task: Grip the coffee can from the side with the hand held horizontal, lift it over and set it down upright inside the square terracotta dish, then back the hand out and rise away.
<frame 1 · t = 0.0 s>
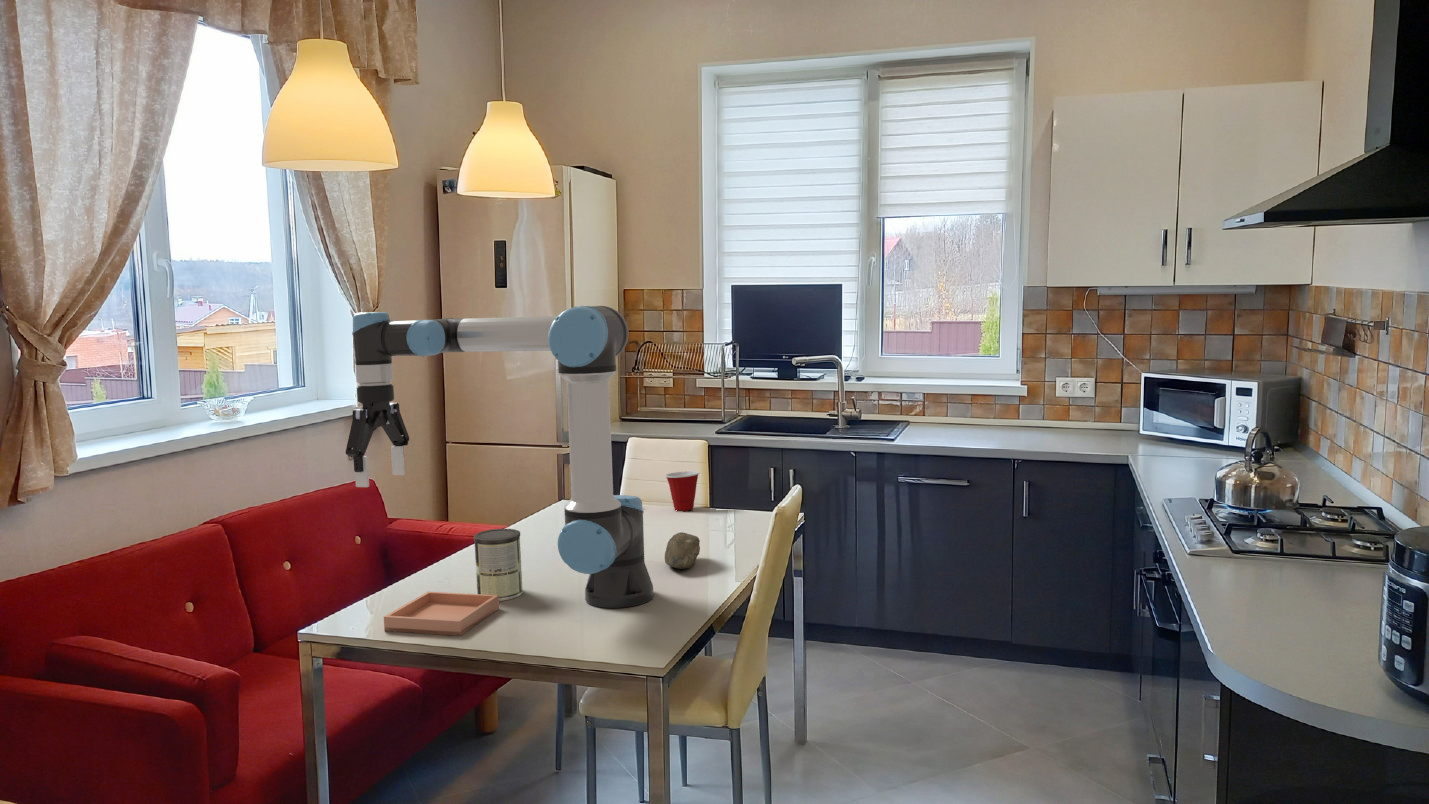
hand: (381, 480, 207), 28 cm above the table, tool pointing down, fingers open, 13 cm apart
terracotta dish: (443, 619, 199), on the table
plastic cup: (683, 510, 298), on the table
stone: (682, 566, 235), on the table
vase: (605, 510, 301), on the table
coffee can: (500, 595, 216), on the table
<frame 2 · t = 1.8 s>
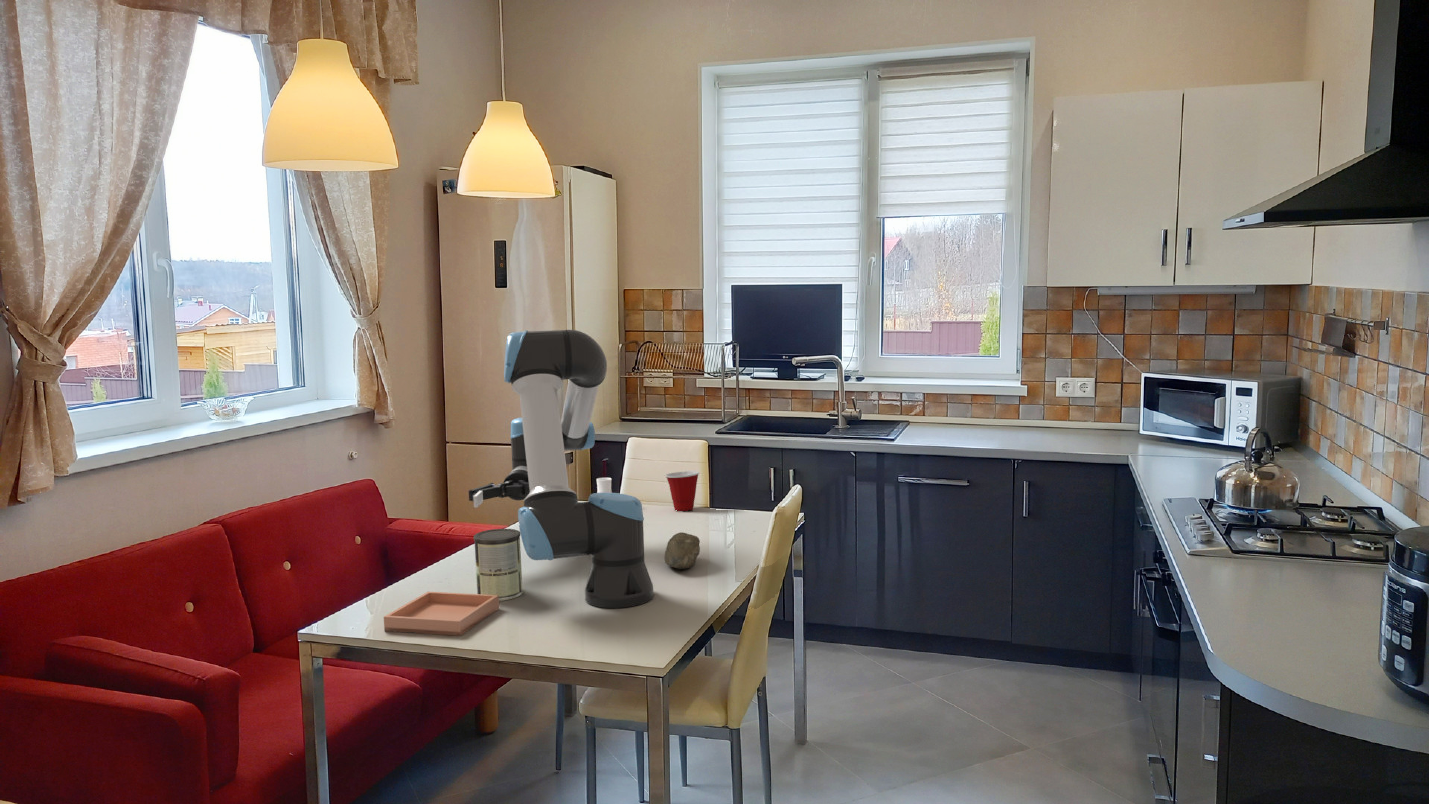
hand: (504, 501, 223), 20 cm above the table, tool horizontal, fingers open, 13 cm apart
nothing on the table moved.
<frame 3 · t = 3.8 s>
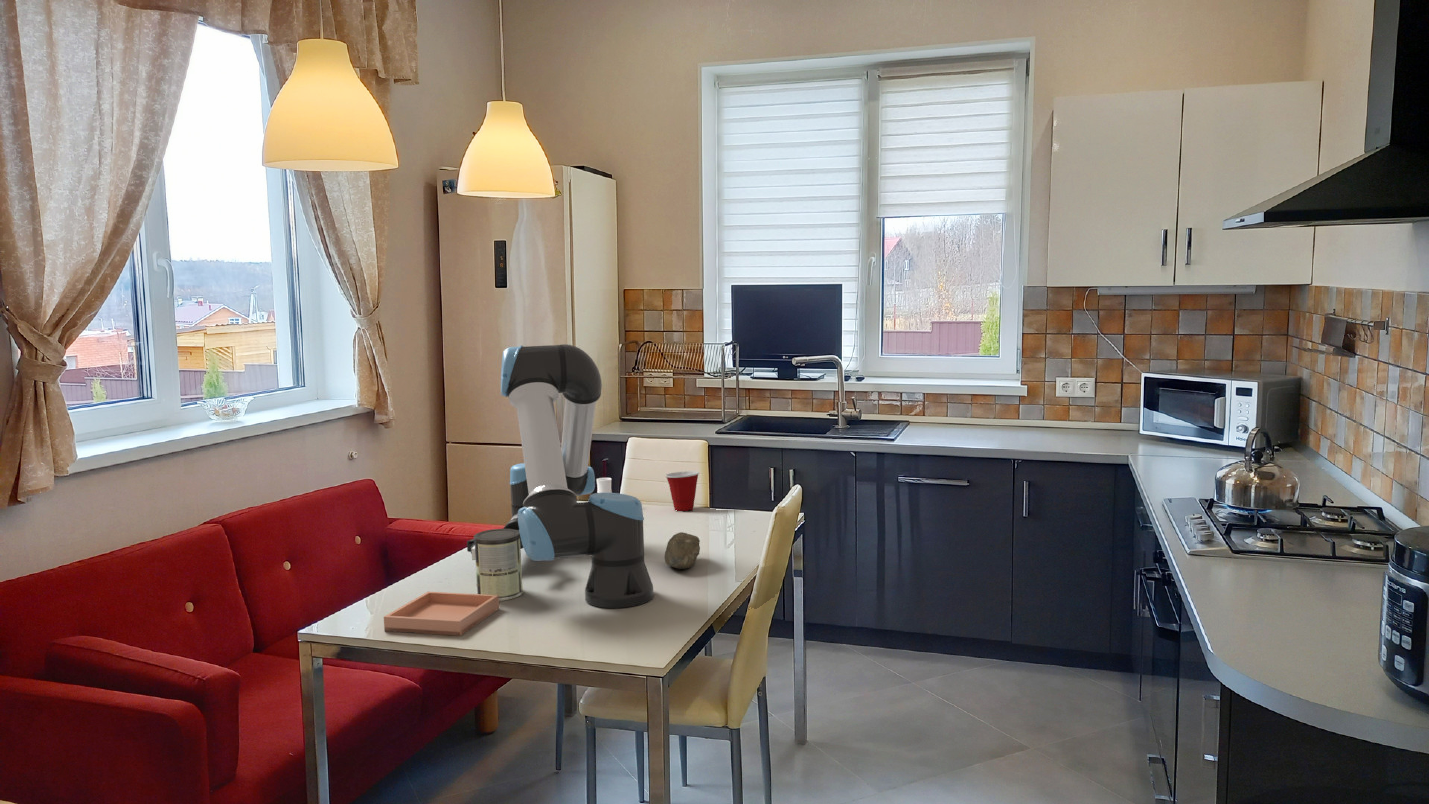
hand: (502, 553, 221), 8 cm above the table, tool horizontal, fingers open, 13 cm apart
nothing on the table moved.
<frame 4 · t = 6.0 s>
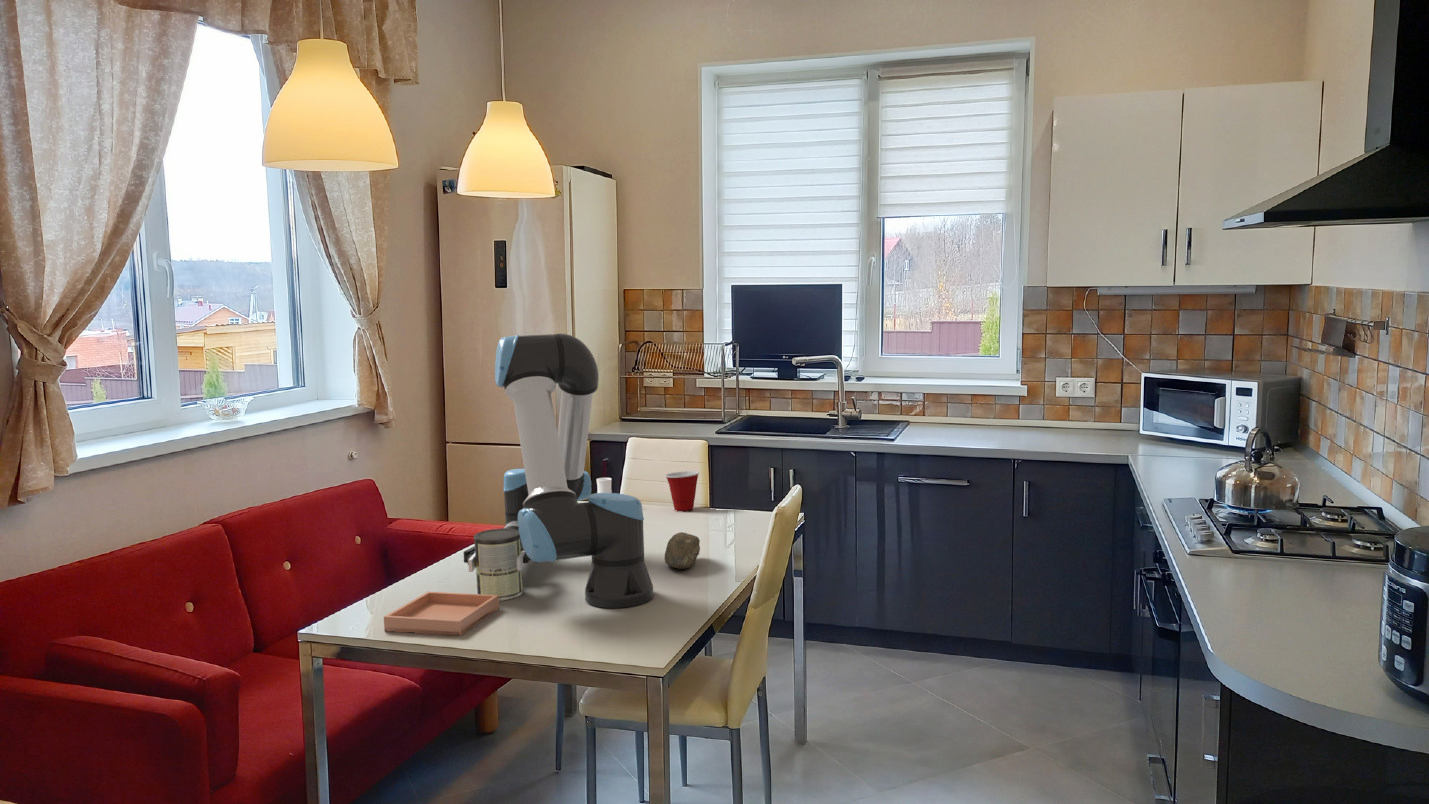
hand: (494, 565, 210), 8 cm above the table, tool horizontal, fingers closed on coffee can, 10 cm apart
coffee can: (500, 595, 216), on the table, touching gripper
everything else where it was.
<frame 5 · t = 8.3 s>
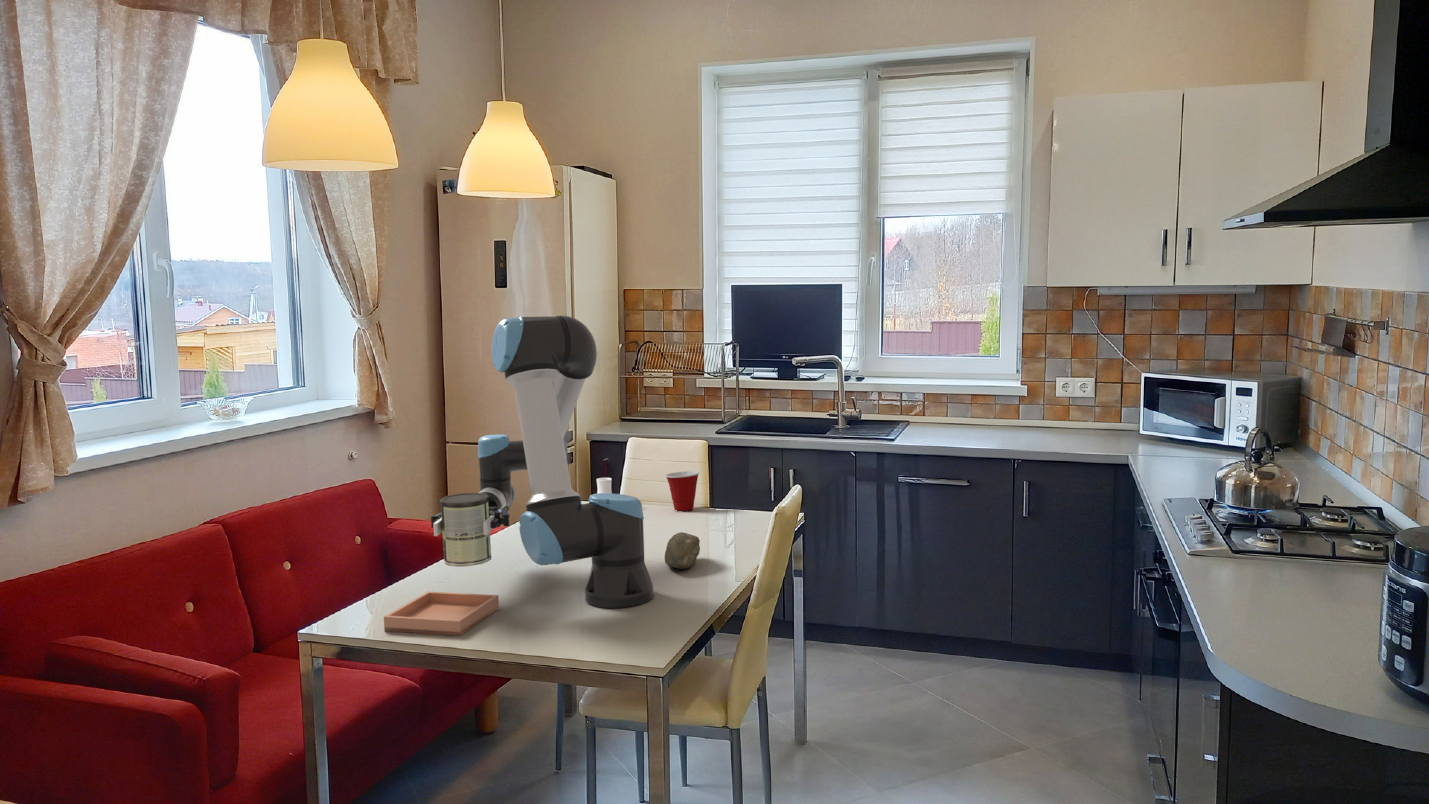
hand: (460, 529, 203), 18 cm above the table, tool horizontal, fingers closed on coffee can, 10 cm apart
coffee can: (467, 561, 208), point 10 cm above the table, touching gripper
everything else where it was.
when the fingers open (10 cm above the table, at t = 10.9 s): coffee can drops 1 cm, resting on terracotta dish.
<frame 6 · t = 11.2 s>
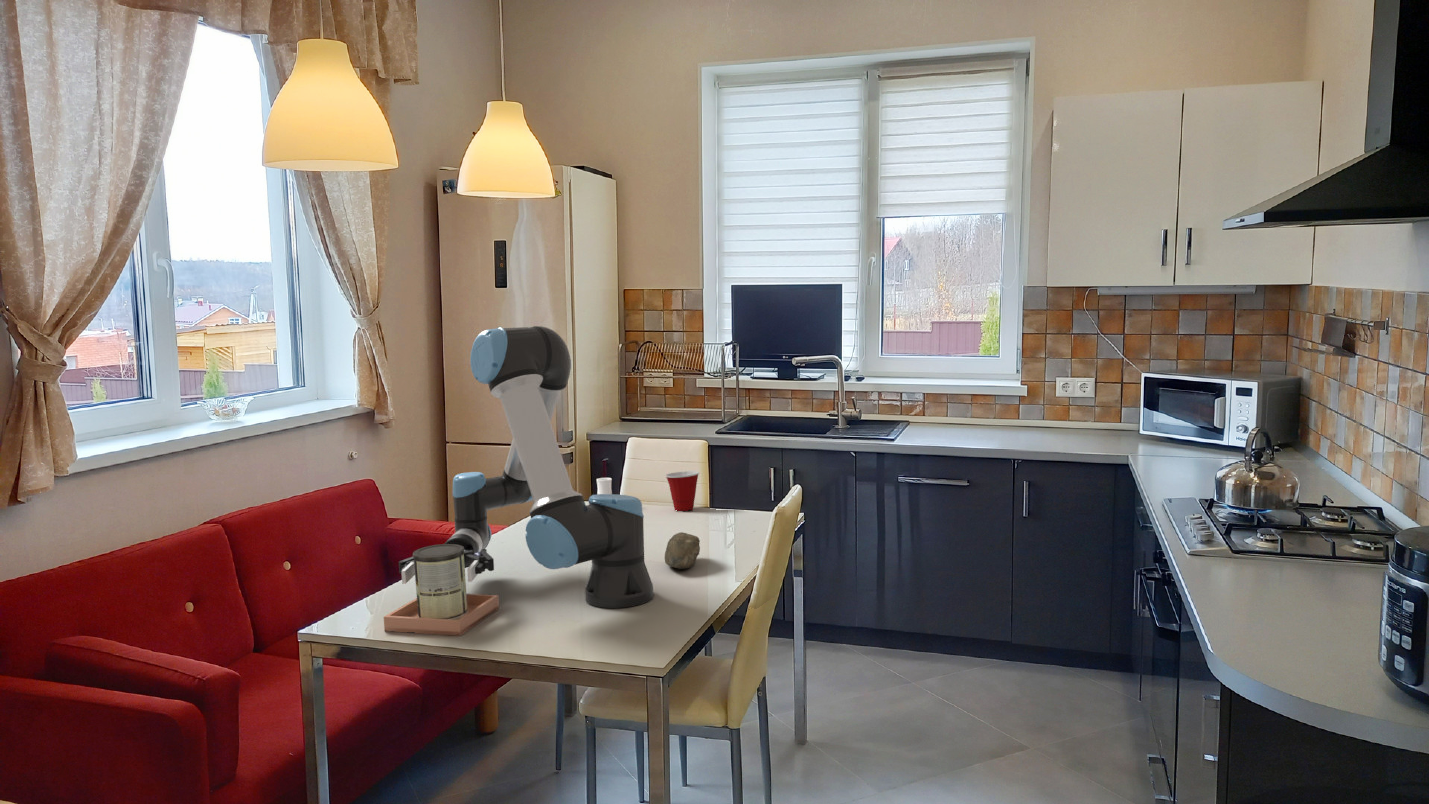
hand: (436, 576, 195), 10 cm above the table, tool horizontal, fingers open, 13 cm apart
coffee can: (443, 616, 199), point 1 cm above the table, touching terracotta dish
everything else where it was.
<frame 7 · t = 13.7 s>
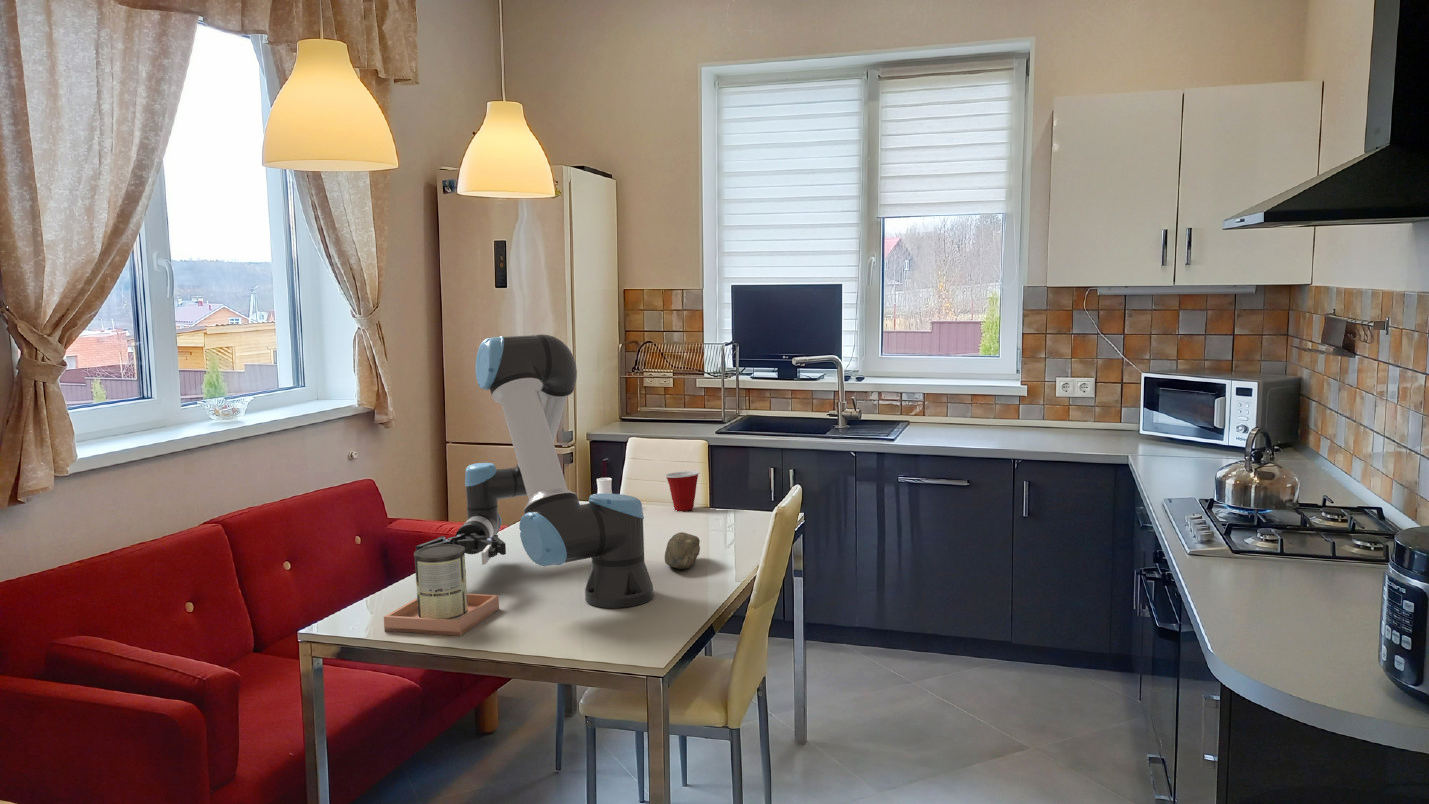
hand: (452, 559, 207), 10 cm above the table, tool horizontal, fingers open, 13 cm apart
nothing on the table moved.
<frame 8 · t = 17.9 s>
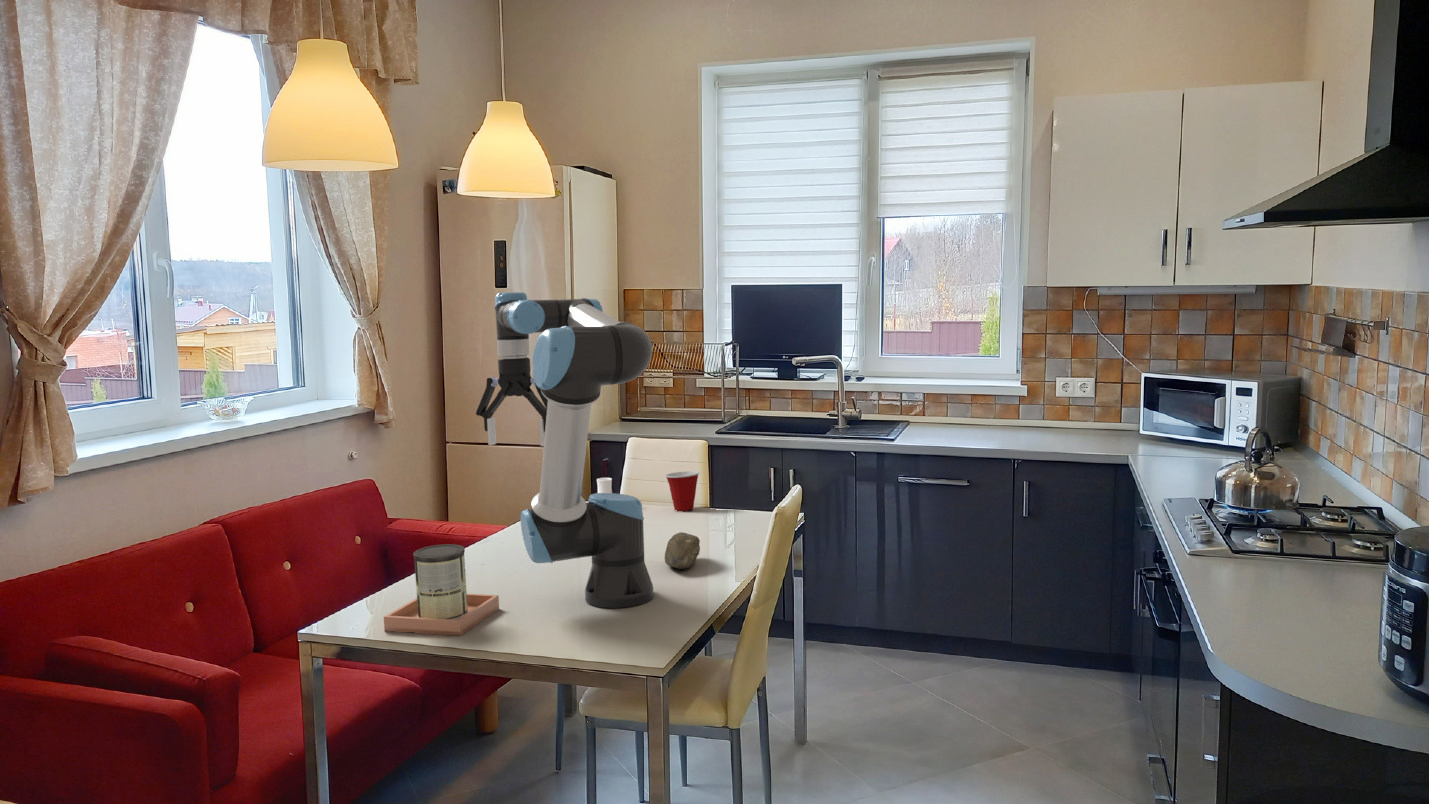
hand: (518, 445, 229), 32 cm above the table, tool pointing down, fingers open, 13 cm apart
nothing on the table moved.
at the end: coffee can inside the target area on the terracotta dish (0.1 cm from its centre), point 0.6 cm above the terracotta dish's base; coffee can tilted 0°; the gripper is holding nothing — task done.
